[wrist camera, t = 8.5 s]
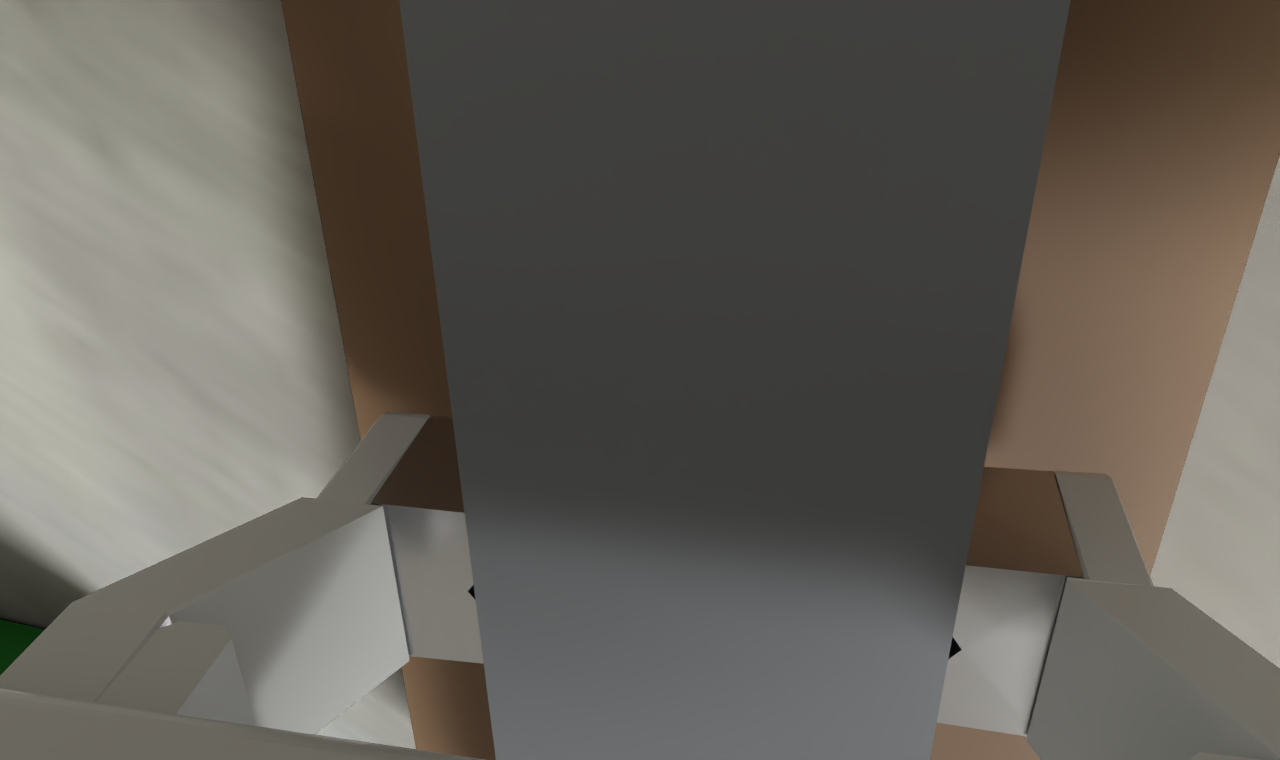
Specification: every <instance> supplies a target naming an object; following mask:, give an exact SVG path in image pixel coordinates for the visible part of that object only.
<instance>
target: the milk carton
mask: <svg viewBox="0 0 1280 760" xmlns="http://www.w3.org/2000/svg"><path fill="white" fill-rule="evenodd" d="M44 630H45V629H40V628H36V627H32V626H27V625H23V624H18V623H14V622H10V621H5V620H1V619H0V675H1V674H2V673H3V672H4V671H5V670H6V669H7V668H8V667H9V666H10V665H11V664H12V663H13V662H14V661H15V660H16V659H17V658H18V657H19V656H20V655H21V654H22V653H23V652H24V651H25V650H26V649H27V648H28V647H29V646H30V645H31V644H32V642H33V641H34V640H35V639H36V638H37V637H38V636H39V635H40V634H41V633H42V632H43V631H44Z"/></svg>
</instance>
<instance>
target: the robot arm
mask: <svg viewBox="0 0 1280 760" xmlns="http://www.w3.org/2000/svg"><path fill="white" fill-rule="evenodd" d="M409 656H413V657H423V658H433V659H443V660H453V661H463V662H472V663H482V664H484V662H483V655H482V647H481V639H480V631H479V623H478V615H477V607H476V600H475V592H474V584H473V576H472V568H471V560H470V552H469V545H468V537H467V529H466V521H465V513H464V505H463V497H462V489H461V482H460V474H459V466H458V458H457V450H456V442H455V434H454V427H453V419H452V417H446V416H433V415H430V414H417V413H404V412H388V413H385V414H382V415H381V416H380V417H379V418H378V420H377V421H376V422H375V423H374V425H373V426H372V427H371V429H370V430H369V431H368V432H367V434H366V435H365V436H364V438H363V439H362V440H361V441H360V443H359V444H358V445H357V447H356V448H355V449H354V450H353V452H352V453H351V454H350V456H349V457H348V458H347V459H346V461H345V462H344V463H343V465H342V466H341V467H340V469H339V470H338V471H337V472H336V474H335V475H334V476H333V478H332V479H331V480H330V481H329V483H328V484H327V485H326V487H325V488H324V489H323V490H322V492H321V493H320V494H319V496H318V497H317V498H316V499H314V498H303V497H302V498H300V499H297V500H295V501H293V502H291V503H289V504H286V505H284V506H282V507H280V508H278V509H275V510H273V511H271V512H269V513H267V514H264V515H262V516H260V517H258V518H256V519H253V520H251V521H249V522H247V523H245V524H243V525H240V526H238V527H236V528H234V529H232V530H229V531H227V532H225V533H223V534H221V535H218V536H216V537H214V538H212V539H210V540H207V541H205V542H203V543H201V544H199V545H196V546H194V547H192V548H190V549H188V550H185V551H183V552H181V553H179V554H177V555H174V556H172V557H170V558H168V559H166V560H163V561H161V562H159V563H157V564H155V565H152V566H150V567H148V568H146V569H144V570H141V571H139V572H137V573H135V574H133V575H130V576H128V577H126V578H124V579H122V580H120V581H117V582H115V583H113V584H111V585H109V586H106V587H104V588H102V589H100V590H98V591H95V592H93V593H91V594H89V595H87V596H84V597H82V598H80V599H78V600H76V601H73V602H72V603H71V604H70V605H69V606H68V607H67V608H66V609H65V610H64V611H63V612H62V613H61V614H60V615H59V616H58V617H57V618H56V619H55V620H54V621H53V622H52V623H51V624H50V625H49V626H48V627H47V628H46V629H45V630H44V631H43V632H42V633H41V634H40V635H39V636H38V637H37V638H36V639H35V640H34V641H33V642H32V644H31V645H30V646H29V647H28V648H27V649H26V650H25V651H24V652H23V653H22V654H21V655H20V656H19V657H18V658H17V659H16V660H15V661H14V662H13V663H12V664H11V665H10V666H9V667H8V668H7V669H6V670H5V671H4V672H3V673H2V674H1V675H0V760H485V759H478V758H471V757H464V756H457V755H450V754H443V753H437V752H430V751H423V750H416V749H409V748H402V747H396V746H389V745H382V744H375V743H368V742H362V741H355V740H348V739H341V738H334V737H327V736H321V735H315V734H317V733H318V732H319V731H320V730H322V729H323V728H324V727H326V726H327V725H328V724H329V723H331V722H332V721H333V720H334V719H336V718H337V717H338V716H340V715H341V714H342V713H343V712H345V711H346V710H347V709H349V708H350V707H351V706H352V705H354V704H355V703H356V702H357V701H359V700H360V699H361V698H363V697H364V696H365V695H366V694H368V693H369V692H370V691H372V690H373V689H374V688H375V687H377V686H378V685H379V684H381V683H382V682H383V681H384V680H386V679H387V678H388V677H389V676H391V675H392V674H393V673H395V672H396V671H397V670H398V669H400V668H401V667H402V666H404V665H405V664H406V663H407V662H409V660H410V659H409ZM937 723H943V724H950V725H956V726H962V727H969V728H975V729H982V730H988V731H995V732H1001V733H1007V734H1014V735H1020V736H1027V739H1026V741H1027V742H1028V744H1029V745H1030V746H1031V748H1032V749H1033V750H1034V751H1035V753H1036V754H1037V755H1038V757H1039V758H1040V759H1041V760H1280V668H1278V667H1277V666H1275V665H1274V664H1273V663H1271V662H1270V661H1269V660H1267V659H1266V658H1265V657H1263V656H1262V655H1261V654H1259V653H1258V652H1257V651H1255V650H1254V649H1252V648H1251V647H1250V646H1248V645H1247V644H1246V643H1244V642H1243V641H1242V640H1240V639H1239V638H1238V637H1236V636H1235V635H1234V634H1232V633H1231V632H1229V631H1228V630H1227V629H1225V628H1224V627H1223V626H1221V625H1220V624H1219V623H1217V622H1216V621H1215V620H1213V619H1212V618H1211V617H1209V616H1208V615H1206V614H1205V613H1204V612H1202V611H1201V610H1200V609H1198V608H1197V607H1196V606H1194V605H1193V604H1192V603H1190V602H1189V601H1187V600H1186V599H1185V598H1183V597H1182V596H1181V595H1179V594H1178V593H1177V592H1175V591H1174V590H1173V589H1171V588H1163V587H1154V585H1153V583H1152V580H1151V578H1150V575H1149V572H1148V570H1147V567H1146V564H1145V562H1144V559H1143V557H1142V554H1141V551H1140V549H1139V546H1138V543H1137V541H1136V538H1135V536H1134V533H1133V530H1132V528H1131V525H1130V522H1129V520H1128V517H1127V515H1126V512H1125V509H1124V507H1123V504H1122V501H1121V499H1120V496H1119V494H1118V491H1117V488H1116V486H1115V483H1114V480H1113V479H1112V478H1111V477H1109V476H1108V475H1107V474H1105V473H1087V472H1068V471H1041V470H1026V469H1012V468H997V467H984V470H983V475H982V480H981V486H980V491H979V497H978V502H977V507H976V513H975V518H974V524H973V529H972V534H971V540H970V545H969V551H968V556H967V561H966V567H965V572H964V577H963V583H962V588H961V594H960V599H959V604H958V610H957V615H956V621H955V626H954V631H953V637H952V642H951V648H950V653H949V658H948V664H947V669H946V674H945V680H944V685H943V691H942V696H941V701H940V707H939V712H938V718H937Z"/></svg>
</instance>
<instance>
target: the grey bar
mask: <svg viewBox="0 0 1280 760" xmlns="http://www.w3.org/2000/svg"><path fill="white" fill-rule="evenodd" d="M1070 1H1071V0H399V2H400V10H401V18H402V26H403V33H404V41H405V49H406V57H407V65H408V73H409V81H410V89H411V96H412V104H413V112H414V120H415V128H416V136H417V144H418V151H419V159H420V167H421V175H422V183H423V191H424V199H425V206H426V214H427V222H428V230H429V238H430V246H431V254H432V261H433V269H434V277H435V285H436V293H437V301H438V309H439V317H440V324H441V332H442V340H443V348H444V356H445V364H446V372H447V379H448V387H449V395H450V403H451V411H452V419H453V427H454V434H455V442H456V450H457V458H458V466H459V474H460V482H461V489H462V497H463V505H464V513H465V521H466V529H467V537H468V545H469V552H470V560H471V568H472V576H473V584H474V592H475V600H476V607H477V615H478V623H479V631H480V639H481V647H482V655H483V662H484V670H485V678H486V686H487V694H488V702H489V710H490V717H491V725H492V733H493V741H494V749H495V757H496V760H930V755H931V750H932V745H933V739H934V734H935V728H936V723H937V718H938V712H939V707H940V701H941V696H942V691H943V685H944V680H945V674H946V669H947V664H948V658H949V653H950V648H951V642H952V637H953V631H954V626H955V621H956V615H957V610H958V604H959V599H960V594H961V588H962V583H963V577H964V572H965V567H966V561H967V556H968V551H969V545H970V540H971V534H972V529H973V524H974V518H975V513H976V507H977V502H978V497H979V491H980V486H981V480H982V475H983V470H984V464H985V459H986V454H987V448H988V443H989V437H990V432H991V427H992V421H993V416H994V410H995V405H996V400H997V394H998V389H999V383H1000V378H1001V373H1002V367H1003V362H1004V357H1005V351H1006V346H1007V340H1008V335H1009V330H1010V324H1011V319H1012V313H1013V308H1014V303H1015V297H1016V292H1017V287H1018V281H1019V276H1020V270H1021V265H1022V260H1023V254H1024V249H1025V243H1026V238H1027V233H1028V227H1029V222H1030V216H1031V211H1032V206H1033V200H1034V195H1035V190H1036V184H1037V179H1038V173H1039V168H1040V163H1041V157H1042V152H1043V146H1044V141H1045V136H1046V130H1047V125H1048V119H1049V114H1050V109H1051V103H1052V98H1053V93H1054V87H1055V82H1056V76H1057V71H1058V66H1059V60H1060V55H1061V49H1062V44H1063V39H1064V33H1065V28H1066V22H1067V17H1068V12H1069V6H1070Z"/></svg>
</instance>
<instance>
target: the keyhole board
mask: <svg viewBox="0 0 1280 760" xmlns="http://www.w3.org/2000/svg"><path fill="white" fill-rule="evenodd" d="M281 1H282V7H283V12H284V18H285V24H286V29H287V35H288V40H289V46H290V51H291V57H292V62H293V68H294V74H295V79H296V85H297V90H298V96H299V101H300V107H301V112H302V118H303V124H304V129H305V135H306V140H307V146H308V151H309V157H310V162H311V168H312V173H313V179H314V185H315V190H316V196H317V201H318V207H319V212H320V218H321V223H322V229H323V235H324V240H325V246H326V251H327V257H328V262H329V268H330V273H331V279H332V285H333V290H334V296H335V301H336V307H337V312H338V318H339V323H340V329H341V335H342V340H343V346H344V351H345V357H346V362H347V368H348V373H349V379H350V384H351V390H352V396H353V401H354V407H355V412H356V418H357V423H358V429H359V434H360V440H362V439H363V438H364V436H365V435H366V434H367V432H368V431H369V430H370V429H371V427H372V426H373V425H374V423H375V422H376V421H377V420H378V418H379V417H380V416H381V415H382V414H385V413H388V412H404V413H417V414H430V415H433V416H446V417H452V411H451V403H450V395H449V387H448V379H447V372H446V364H445V356H444V348H443V340H442V332H441V324H440V317H439V309H438V301H437V293H436V285H435V277H434V269H433V261H432V254H431V246H430V238H429V230H428V222H427V214H426V206H425V199H424V191H423V183H422V175H421V167H420V159H419V151H418V144H417V136H416V128H415V120H414V112H413V104H412V96H411V89H410V81H409V73H408V65H407V57H406V49H405V41H404V33H403V26H402V18H401V10H400V2H399V0H281ZM1279 155H1280V0H1071V1H1070V6H1069V12H1068V17H1067V22H1066V28H1065V33H1064V39H1063V44H1062V49H1061V55H1060V60H1059V66H1058V71H1057V76H1056V82H1055V87H1054V93H1053V98H1052V103H1051V109H1050V114H1049V119H1048V125H1047V130H1046V136H1045V141H1044V146H1043V152H1042V157H1041V163H1040V168H1039V173H1038V179H1037V184H1036V190H1035V195H1034V200H1033V206H1032V211H1031V216H1030V222H1029V227H1028V233H1027V238H1026V243H1025V249H1024V254H1023V260H1022V265H1021V270H1020V276H1019V281H1018V287H1017V292H1016V297H1015V303H1014V308H1013V313H1012V319H1011V324H1010V330H1009V335H1008V340H1007V346H1006V351H1005V357H1004V362H1003V367H1002V373H1001V378H1000V383H999V389H998V394H997V400H996V405H995V410H994V416H993V421H992V427H991V432H990V437H989V443H988V448H987V454H986V459H985V464H984V467H997V468H1012V469H1026V470H1041V471H1068V472H1087V473H1105V474H1107V475H1108V476H1109V477H1111V478H1112V479H1113V480H1114V483H1115V486H1116V488H1117V491H1118V494H1119V496H1120V499H1121V501H1122V504H1123V507H1124V509H1125V512H1126V515H1127V517H1128V520H1129V522H1130V525H1131V528H1132V530H1133V533H1134V536H1135V538H1136V541H1137V543H1138V546H1139V549H1140V551H1141V554H1142V557H1143V559H1144V562H1145V564H1146V567H1147V570H1148V572H1149V575H1151V571H1152V568H1153V565H1154V562H1155V558H1156V555H1157V552H1158V548H1159V545H1160V542H1161V539H1162V535H1163V532H1164V529H1165V526H1166V522H1167V519H1168V516H1169V513H1170V509H1171V506H1172V503H1173V500H1174V496H1175V493H1176V490H1177V487H1178V483H1179V480H1180V477H1181V474H1182V470H1183V467H1184V464H1185V461H1186V457H1187V454H1188V451H1189V448H1190V444H1191V441H1192V438H1193V435H1194V431H1195V428H1196V425H1197V422H1198V418H1199V415H1200V412H1201V409H1202V405H1203V402H1204V399H1205V396H1206V392H1207V389H1208V386H1209V383H1210V379H1211V376H1212V373H1213V370H1214V366H1215V363H1216V360H1217V357H1218V353H1219V350H1220V347H1221V344H1222V340H1223V337H1224V334H1225V331H1226V327H1227V324H1228V321H1229V318H1230V314H1231V311H1232V308H1233V305H1234V301H1235V298H1236V295H1237V292H1238V288H1239V285H1240V282H1241V279H1242V275H1243V272H1244V269H1245V266H1246V262H1247V259H1248V256H1249V253H1250V249H1251V246H1252V243H1253V240H1254V236H1255V233H1256V230H1257V227H1258V223H1259V220H1260V217H1261V214H1262V210H1263V207H1264V204H1265V201H1266V197H1267V194H1268V191H1269V188H1270V184H1271V181H1272V178H1273V175H1274V171H1275V168H1276V165H1277V162H1278V158H1279ZM409 659H410V660H409V662H407V663H406V664H405V665H404V666H402V667H401V668H402V673H403V679H404V684H405V690H406V695H407V701H408V707H409V712H410V718H411V723H412V729H413V734H414V740H415V745H416V750H423V751H430V752H437V753H443V754H450V755H457V756H464V757H471V758H478V759H485V760H496V757H495V749H494V741H493V733H492V725H491V717H490V710H489V702H488V694H487V686H486V678H485V670H484V664H482V663H472V662H463V661H453V660H443V659H433V658H423V657H413V656H409ZM1026 739H1027V736H1020V735H1014V734H1007V733H1001V732H995V731H988V730H982V729H975V728H969V727H962V726H956V725H950V724H943V723H936V728H935V734H934V739H933V745H932V750H931V755H930V760H1041V759H1040V758H1039V757H1038V755H1037V754H1036V753H1035V751H1034V750H1033V749H1032V748H1031V746H1030V745H1029V744H1028V742H1027V741H1026Z"/></svg>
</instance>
